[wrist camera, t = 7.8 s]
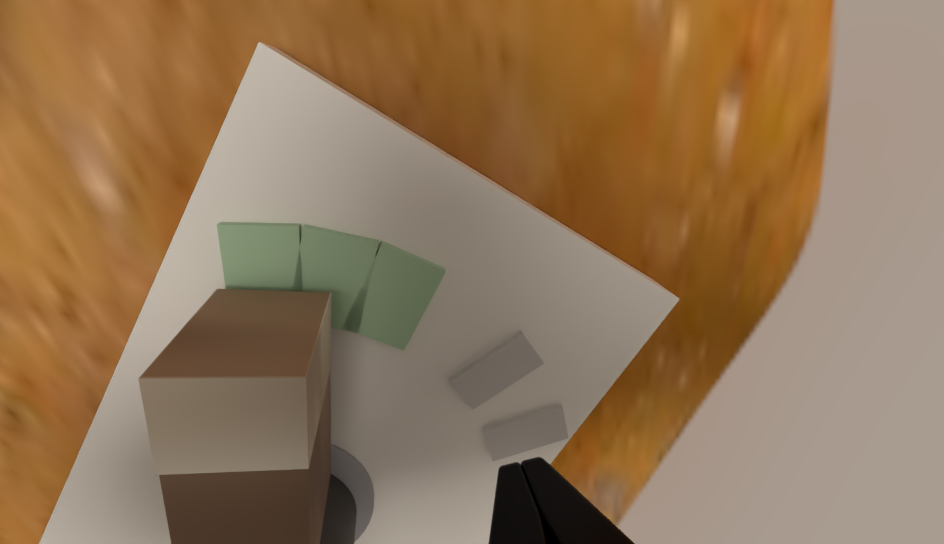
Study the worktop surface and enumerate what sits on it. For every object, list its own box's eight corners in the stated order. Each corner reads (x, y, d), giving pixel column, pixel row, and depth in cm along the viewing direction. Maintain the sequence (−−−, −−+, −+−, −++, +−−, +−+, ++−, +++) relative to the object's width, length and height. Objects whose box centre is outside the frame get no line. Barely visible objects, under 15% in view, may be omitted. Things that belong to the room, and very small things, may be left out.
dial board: (407, 603, 15) (409, 651, 14) (62, 524, 12) (21, 578, 10) (652, 279, 12) (685, 302, 10) (276, 47, 9) (255, 39, 7)
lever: (355, 558, 12) (340, 762, 8) (218, 569, 11) (138, 793, 7) (362, 293, 9) (343, 424, 5) (182, 287, 8) (31, 431, 5)
